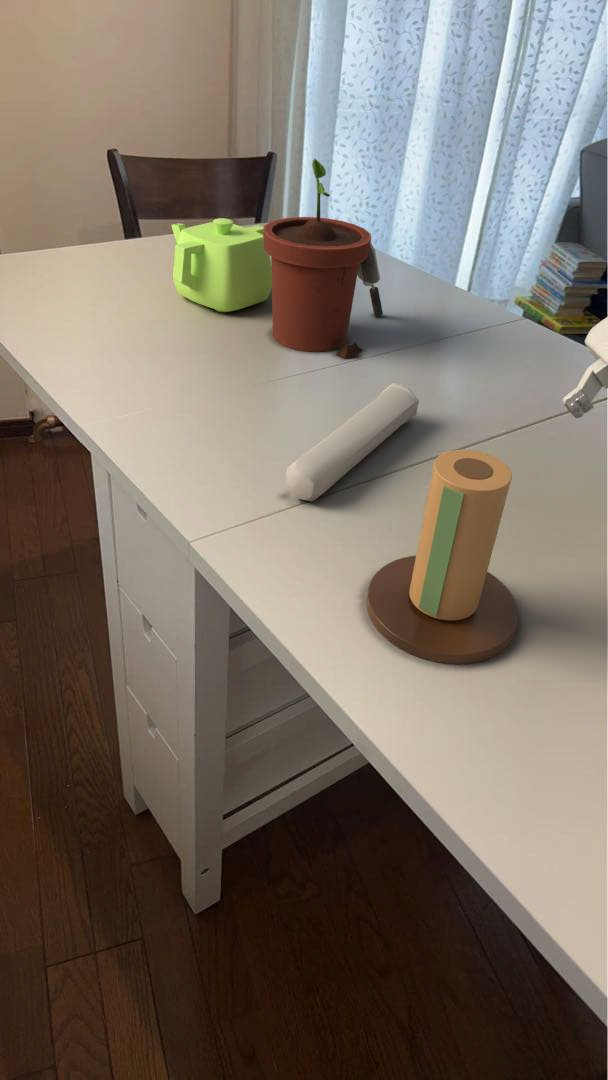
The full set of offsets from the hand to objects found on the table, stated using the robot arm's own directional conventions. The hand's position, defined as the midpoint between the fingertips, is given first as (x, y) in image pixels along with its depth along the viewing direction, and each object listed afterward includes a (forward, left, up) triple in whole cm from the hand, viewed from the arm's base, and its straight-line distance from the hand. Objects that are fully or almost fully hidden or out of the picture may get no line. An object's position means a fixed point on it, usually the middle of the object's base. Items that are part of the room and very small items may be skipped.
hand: (592, 437), depth 66 cm
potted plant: (+44, -48, -18) cm, 68 cm away
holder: (+8, +6, -18) cm, 21 cm away
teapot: (+67, -52, -18) cm, 87 cm away
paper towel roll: (+8, +6, -17) cm, 19 cm away
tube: (+26, -15, -18) cm, 35 cm away
